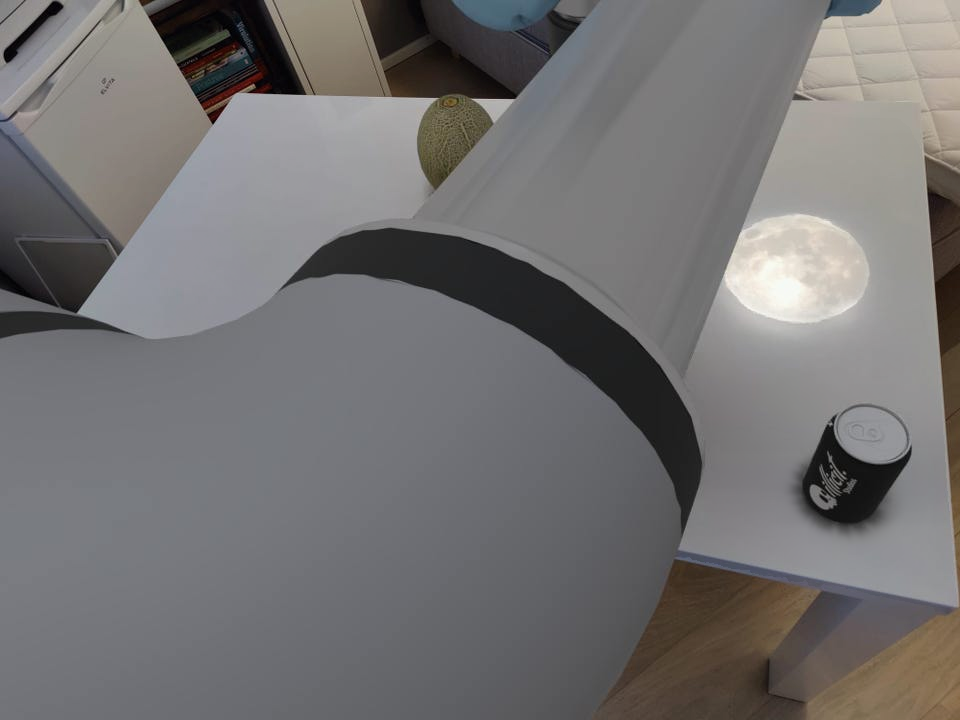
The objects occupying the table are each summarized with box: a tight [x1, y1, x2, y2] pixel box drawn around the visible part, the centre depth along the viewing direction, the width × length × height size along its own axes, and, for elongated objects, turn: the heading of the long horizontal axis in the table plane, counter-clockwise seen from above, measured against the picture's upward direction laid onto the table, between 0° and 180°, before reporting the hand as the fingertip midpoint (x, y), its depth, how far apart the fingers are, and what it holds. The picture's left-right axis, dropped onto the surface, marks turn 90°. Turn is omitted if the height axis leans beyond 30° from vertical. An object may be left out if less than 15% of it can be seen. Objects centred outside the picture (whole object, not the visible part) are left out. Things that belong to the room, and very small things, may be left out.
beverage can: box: [801, 401, 913, 524], centre depth 62 cm, size 7×7×12 cm
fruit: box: [416, 93, 495, 191], centre depth 96 cm, size 11×11×15 cm
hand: (606, 233), depth 69 cm, fingers open, 2 cm apart
